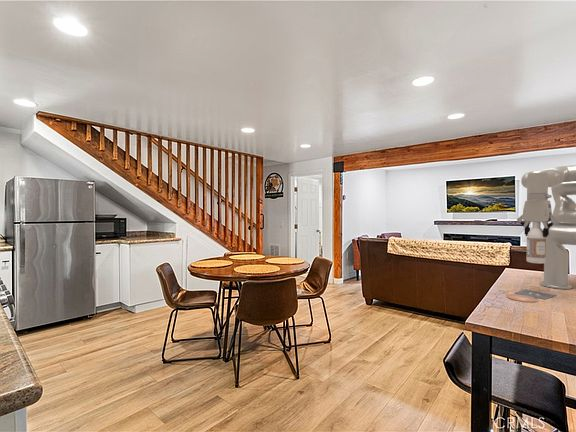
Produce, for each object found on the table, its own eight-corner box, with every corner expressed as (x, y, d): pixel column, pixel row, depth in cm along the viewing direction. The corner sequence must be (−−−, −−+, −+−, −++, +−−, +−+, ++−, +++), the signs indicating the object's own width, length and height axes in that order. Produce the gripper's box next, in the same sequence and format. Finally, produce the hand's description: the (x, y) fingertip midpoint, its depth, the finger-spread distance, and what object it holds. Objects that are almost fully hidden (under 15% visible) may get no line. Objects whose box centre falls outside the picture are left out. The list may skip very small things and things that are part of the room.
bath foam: (532, 263, 142) (533, 219, 141) (522, 261, 149) (523, 219, 148) (549, 263, 141) (550, 220, 141) (538, 261, 148) (539, 219, 148)
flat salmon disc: (513, 294, 146) (513, 292, 146) (542, 300, 136) (542, 298, 136) (502, 297, 140) (502, 296, 140) (531, 303, 130) (531, 302, 130)
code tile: (525, 289, 153) (525, 289, 153) (556, 295, 143) (556, 295, 143) (514, 293, 147) (514, 292, 147) (545, 299, 137) (545, 299, 137)
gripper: (564, 197, 139) (563, 237, 139) (519, 198, 154) (518, 234, 154) (557, 197, 135) (556, 238, 135) (512, 198, 150) (511, 235, 150)
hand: (536, 236), depth 145 cm, fingers closed on bath foam, 6 cm apart
